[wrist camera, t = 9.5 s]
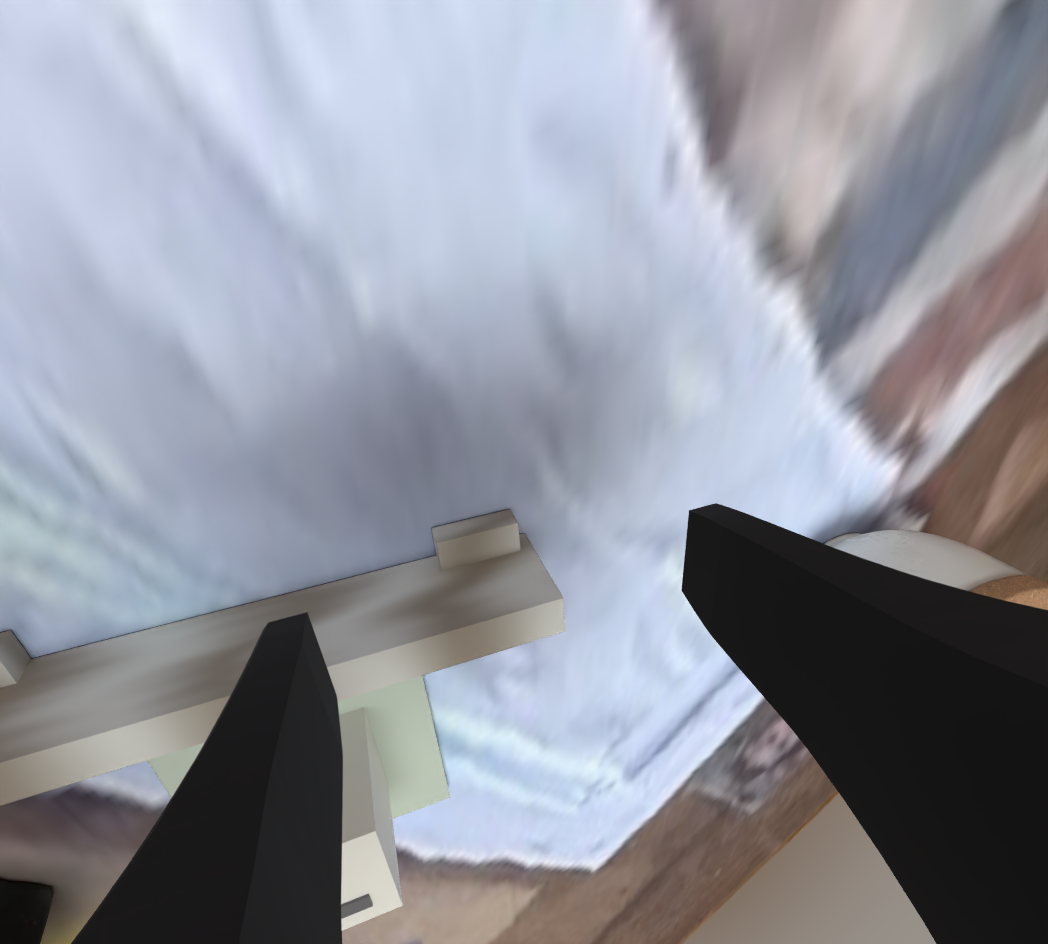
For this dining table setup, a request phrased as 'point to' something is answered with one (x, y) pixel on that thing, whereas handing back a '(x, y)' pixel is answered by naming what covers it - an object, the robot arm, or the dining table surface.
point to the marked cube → (365, 827)
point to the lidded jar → (945, 564)
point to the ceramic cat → (23, 912)
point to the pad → (398, 738)
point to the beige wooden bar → (230, 637)
